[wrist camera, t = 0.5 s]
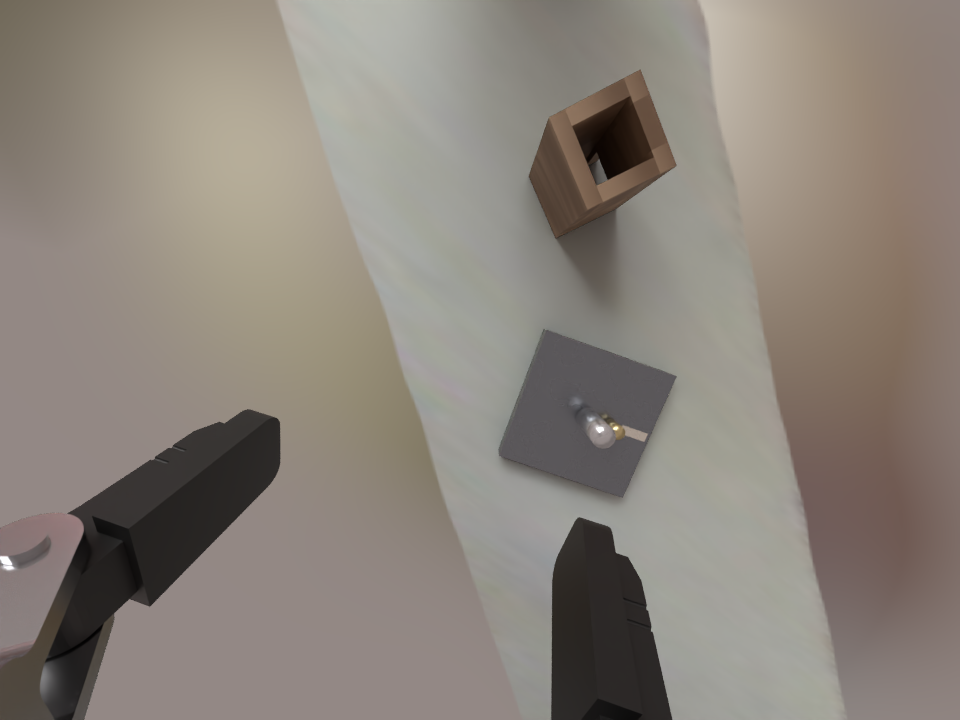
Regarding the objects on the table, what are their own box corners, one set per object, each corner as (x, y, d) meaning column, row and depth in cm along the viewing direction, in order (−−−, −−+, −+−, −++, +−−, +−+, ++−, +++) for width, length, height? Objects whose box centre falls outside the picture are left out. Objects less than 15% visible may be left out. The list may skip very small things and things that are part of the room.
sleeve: (555, 238, 32) (587, 209, 22) (528, 176, 31) (548, 117, 21) (616, 208, 31) (676, 165, 21) (590, 144, 31) (640, 69, 21)
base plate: (498, 449, 35) (501, 482, 28) (543, 329, 33) (558, 335, 27) (616, 489, 35) (646, 531, 29) (668, 372, 33) (711, 389, 27)
